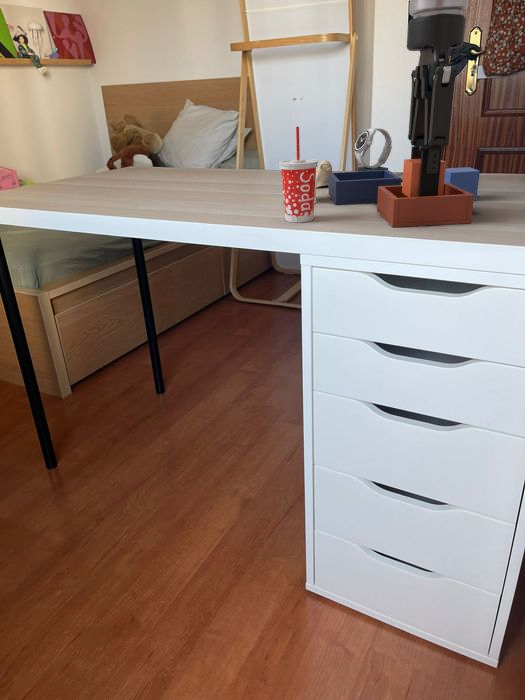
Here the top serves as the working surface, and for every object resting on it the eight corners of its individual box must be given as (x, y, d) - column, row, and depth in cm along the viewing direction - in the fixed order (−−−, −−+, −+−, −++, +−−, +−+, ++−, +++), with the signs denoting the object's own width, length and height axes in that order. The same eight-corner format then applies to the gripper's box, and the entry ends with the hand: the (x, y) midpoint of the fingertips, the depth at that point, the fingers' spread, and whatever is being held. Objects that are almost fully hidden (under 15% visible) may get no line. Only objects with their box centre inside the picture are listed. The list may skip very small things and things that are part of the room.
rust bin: (446, 207, 88) (448, 182, 86) (471, 223, 78) (474, 194, 76) (376, 211, 88) (378, 186, 87) (392, 227, 78) (393, 199, 76)
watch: (349, 182, 117) (350, 129, 112) (381, 179, 119) (383, 126, 114) (361, 186, 112) (363, 130, 107) (394, 182, 114) (397, 127, 109)
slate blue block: (466, 195, 97) (469, 167, 94) (476, 200, 92) (480, 170, 90) (439, 197, 97) (441, 168, 95) (447, 202, 92) (450, 172, 90)
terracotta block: (433, 191, 84) (436, 157, 82) (442, 196, 79) (446, 161, 77) (401, 192, 84) (404, 159, 82) (409, 198, 79) (412, 163, 77)
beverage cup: (284, 224, 83) (281, 129, 77) (277, 217, 88) (274, 127, 82) (322, 221, 84) (322, 126, 78) (312, 214, 89) (312, 124, 83)
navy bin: (386, 190, 105) (387, 169, 104) (400, 201, 95) (401, 178, 93) (328, 194, 106) (328, 172, 104) (335, 205, 95) (335, 181, 93)
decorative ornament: (331, 182, 118) (331, 157, 116) (333, 188, 111) (333, 162, 108) (313, 183, 119) (313, 158, 116) (313, 189, 111) (313, 163, 109)
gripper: (394, 25, 79) (385, 184, 90) (428, 7, 63) (413, 205, 73) (444, 22, 79) (430, 182, 89) (490, 4, 63) (467, 202, 73)
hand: (422, 192), depth 81 cm, fingers closed on terracotta block, 5 cm apart
